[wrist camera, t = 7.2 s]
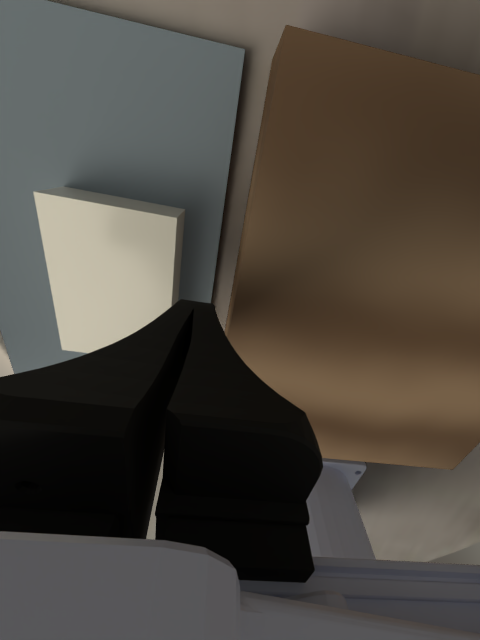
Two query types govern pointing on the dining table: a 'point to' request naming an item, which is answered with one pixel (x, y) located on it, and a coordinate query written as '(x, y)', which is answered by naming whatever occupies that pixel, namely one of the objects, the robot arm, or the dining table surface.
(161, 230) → the tile
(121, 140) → the mat
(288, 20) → the dining table surface
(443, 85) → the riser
